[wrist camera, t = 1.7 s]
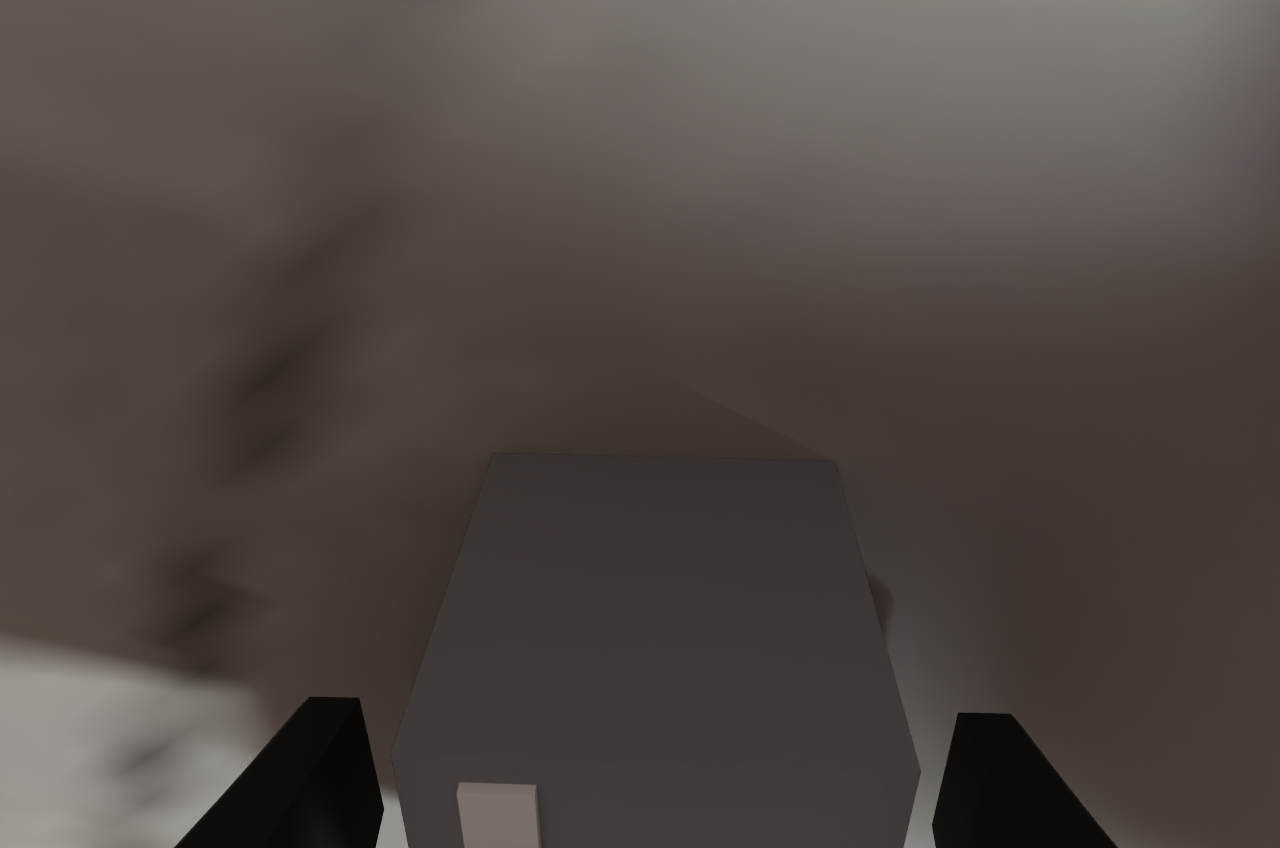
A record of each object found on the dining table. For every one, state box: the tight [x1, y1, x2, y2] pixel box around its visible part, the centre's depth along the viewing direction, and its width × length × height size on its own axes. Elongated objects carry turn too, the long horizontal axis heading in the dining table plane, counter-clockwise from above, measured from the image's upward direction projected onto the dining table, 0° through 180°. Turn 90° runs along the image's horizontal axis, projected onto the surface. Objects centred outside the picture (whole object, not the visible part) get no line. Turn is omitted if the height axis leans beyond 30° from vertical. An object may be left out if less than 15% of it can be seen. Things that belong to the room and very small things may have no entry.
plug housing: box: [390, 453, 921, 848], centre depth 10 cm, size 4×7×5 cm, turn 0°
